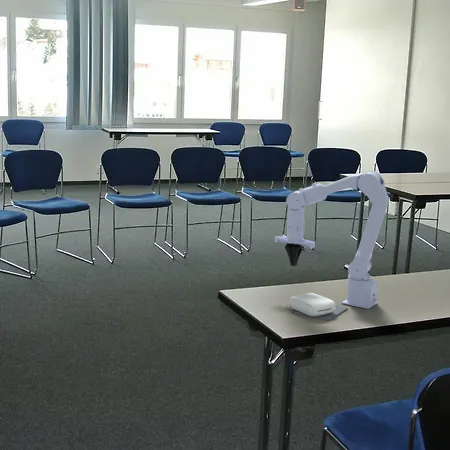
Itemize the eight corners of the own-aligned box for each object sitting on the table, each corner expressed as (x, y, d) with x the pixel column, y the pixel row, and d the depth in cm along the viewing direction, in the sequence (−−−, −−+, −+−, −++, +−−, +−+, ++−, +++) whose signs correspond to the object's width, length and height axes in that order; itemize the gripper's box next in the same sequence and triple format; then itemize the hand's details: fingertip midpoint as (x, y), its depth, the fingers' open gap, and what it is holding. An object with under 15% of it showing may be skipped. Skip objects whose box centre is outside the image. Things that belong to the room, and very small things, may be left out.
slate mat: (347, 309, 220) (347, 307, 220) (329, 320, 208) (329, 319, 208) (314, 302, 226) (314, 300, 226) (294, 312, 215) (294, 311, 215)
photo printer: (313, 290, 222) (339, 301, 212) (312, 303, 223) (338, 314, 213) (288, 295, 217) (314, 306, 207) (288, 308, 218) (313, 319, 207)
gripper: (271, 225, 230) (269, 264, 233) (309, 231, 222) (307, 271, 225) (281, 222, 236) (279, 260, 238) (318, 228, 228) (316, 267, 231)
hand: (293, 265), depth 232 cm, fingers closed
